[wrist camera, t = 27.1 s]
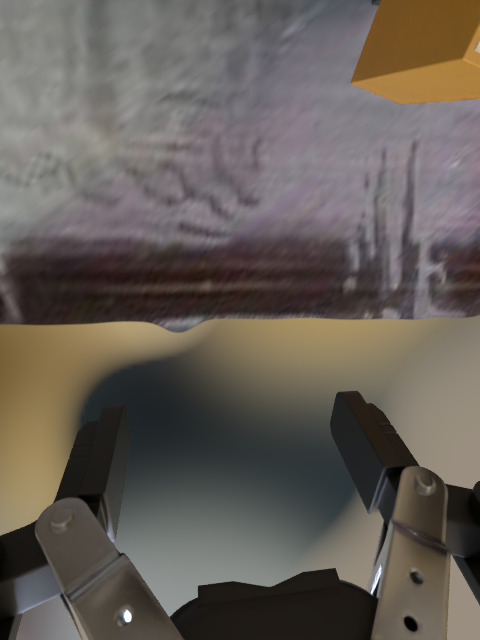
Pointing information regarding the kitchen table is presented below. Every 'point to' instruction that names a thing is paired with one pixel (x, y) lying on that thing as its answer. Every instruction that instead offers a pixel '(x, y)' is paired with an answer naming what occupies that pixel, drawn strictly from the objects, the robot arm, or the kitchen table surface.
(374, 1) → the book rack
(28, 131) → the kitchen table surface
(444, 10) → the book
